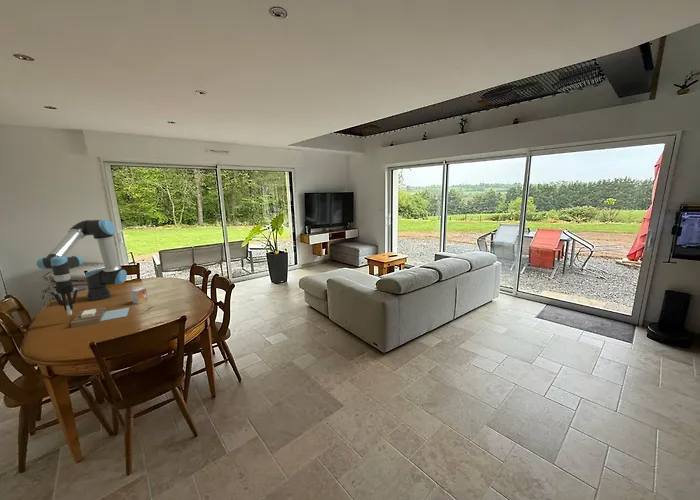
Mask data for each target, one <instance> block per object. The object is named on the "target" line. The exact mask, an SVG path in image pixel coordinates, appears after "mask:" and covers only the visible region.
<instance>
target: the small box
mask: <svg viewBox="0 0 700 500" xmlns="http://www.w3.org/2000/svg"><path fill="white" fill-rule="evenodd" d="M130 294H131V297H132V298H131V299H132V304H136V305H139V304H141V303H142V304H143V303H144V302H147V301H148V300H149V299H148V293H147V288H146V287H139V288H135V289H133V290H131V293H130Z"/></svg>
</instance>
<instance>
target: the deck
mask: <svg viewBox="0 0 700 500" xmlns="http://www.w3.org/2000/svg"><path fill="white" fill-rule="evenodd" d="M95 309H96V313H95V314H94V316H91V317H85V318H81V314H82V313H83V312H84V311H85V310H80V311H78V313H77V314H76V315H75V317H74V318H73V319H72V321H71V322H70V327H71V329H73V328H76V327H77V328H78V327H81V326H86V325H87V326H88V325H93V324H98V323H101V322H102V321H101V319H102V317H103V315H104V313H105V312H106V311H107V308H106V307H105V306H104V307H99V308H95Z"/></svg>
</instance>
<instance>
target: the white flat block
mask: <svg viewBox="0 0 700 500" xmlns="http://www.w3.org/2000/svg"><path fill="white" fill-rule="evenodd" d="M96 309H97V308H92V309H85V310H83V311H84V312H83V313H82V314H81V318H85V317H91V316H94V314H95V313H96Z"/></svg>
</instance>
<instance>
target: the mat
mask: <svg viewBox="0 0 700 500" xmlns="http://www.w3.org/2000/svg"><path fill="white" fill-rule="evenodd" d="M129 311H130V307H125V308H124V307H123V308H118V309H112V310H106V312H105V313H104V315H103V317H102V319H101V321H100V322H104V321H109V320H115V319H119V318H124V317H125V318H126V317H127V316H128V314H129Z"/></svg>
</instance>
